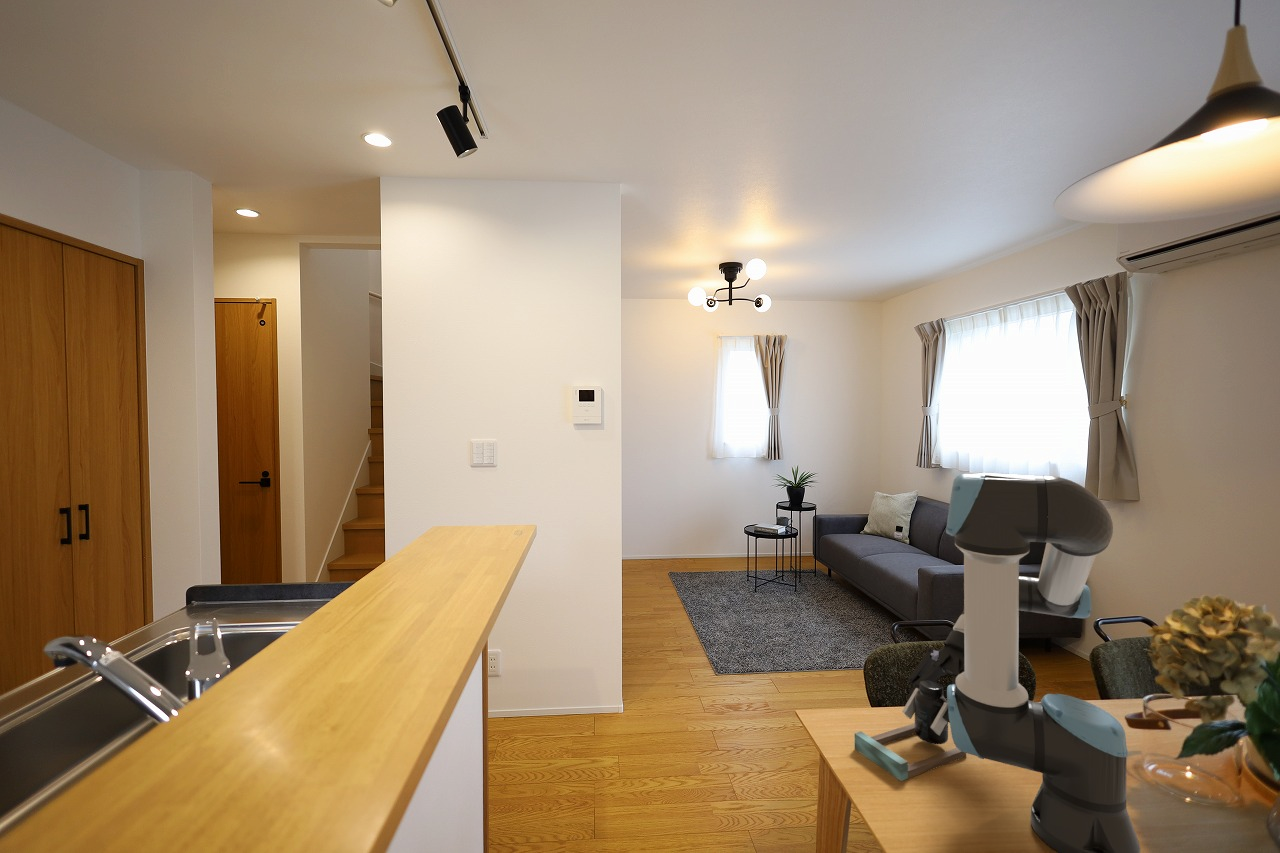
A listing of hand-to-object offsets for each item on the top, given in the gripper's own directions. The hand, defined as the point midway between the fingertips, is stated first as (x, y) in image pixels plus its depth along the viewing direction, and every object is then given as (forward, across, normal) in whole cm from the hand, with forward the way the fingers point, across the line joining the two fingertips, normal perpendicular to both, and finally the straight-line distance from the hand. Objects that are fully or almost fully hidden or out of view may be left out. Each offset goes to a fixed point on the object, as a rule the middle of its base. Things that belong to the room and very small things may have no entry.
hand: (920, 723), depth 125 cm
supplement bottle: (+1, 0, -6) cm, 6 cm away
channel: (+6, 0, -2) cm, 6 cm away
